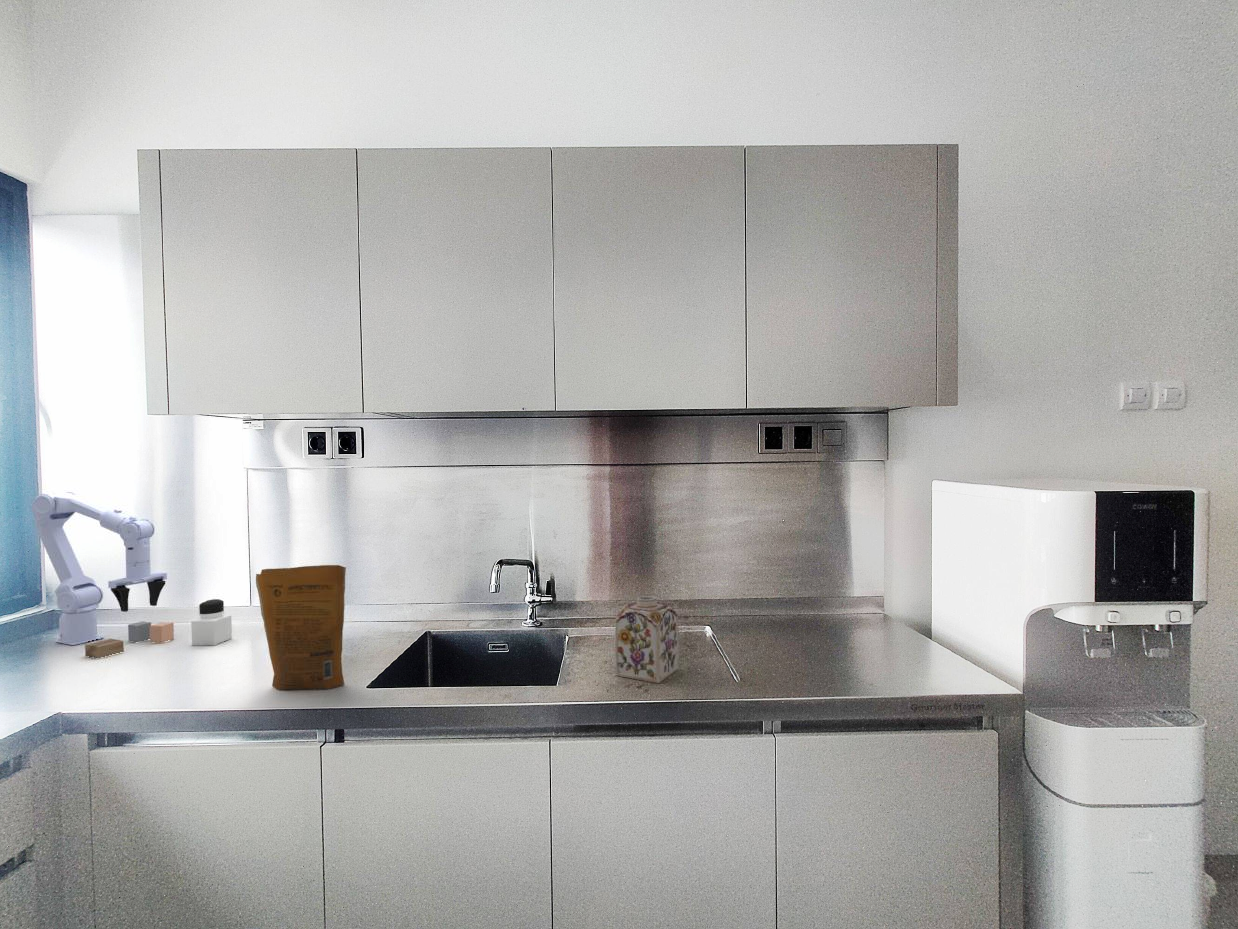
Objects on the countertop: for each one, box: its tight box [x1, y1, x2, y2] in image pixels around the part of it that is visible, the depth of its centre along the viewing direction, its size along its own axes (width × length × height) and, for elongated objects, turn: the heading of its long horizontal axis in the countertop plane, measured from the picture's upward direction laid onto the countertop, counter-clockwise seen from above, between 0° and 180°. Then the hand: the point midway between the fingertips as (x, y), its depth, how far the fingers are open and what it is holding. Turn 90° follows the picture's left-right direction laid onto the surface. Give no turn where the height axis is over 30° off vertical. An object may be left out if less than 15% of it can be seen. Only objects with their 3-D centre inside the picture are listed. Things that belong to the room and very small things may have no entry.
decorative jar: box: [614, 595, 680, 684], centre depth 153 cm, size 12×12×18 cm
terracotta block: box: [149, 621, 175, 644], centre depth 187 cm, size 4×4×5 cm
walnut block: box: [84, 638, 125, 659], centre depth 174 cm, size 6×6×4 cm
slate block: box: [127, 620, 152, 643], centre depth 188 cm, size 4×4×5 cm
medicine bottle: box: [190, 598, 233, 646], centre depth 185 cm, size 7×7×12 cm
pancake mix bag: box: [255, 564, 347, 691], centre depth 146 cm, size 7×19×28 cm, turn 91°
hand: (139, 608), depth 188 cm, fingers open, 7 cm apart
